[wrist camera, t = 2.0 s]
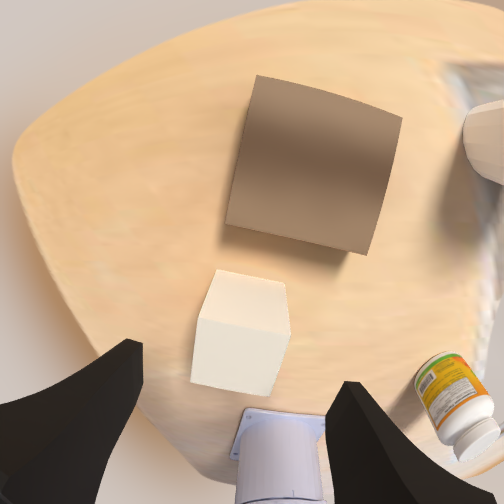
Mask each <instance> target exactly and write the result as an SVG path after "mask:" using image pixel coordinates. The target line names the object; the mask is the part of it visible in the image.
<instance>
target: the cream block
mask: <svg viewBox="0 0 504 504" xmlns="http://www.w3.org/2000/svg"><path fill="white" fill-rule="evenodd" d="M290 337H291V331H290V322H289V314H288V306H287V298H286V291H285V283H282V282H277V281H272V280H267V279H262V278H257V277H252V276H247V275H243V274H238V273H233V272H228V271H223V270H218V269H217V270H216V272H215V275H214V278H213V280H212V283H211V285H210V288H209V290H208V293H207V295H206V298H205V301H204V303H203V306H202V308H201V311H200V313H199V316H198V322H197V329H196V337H195V345H194V353H193V362H192V370H191V379H190V382H192V383H196V384H201V385H206V386H210V387H215V388H220V389H225V390H230V391H236V392H241V393H247V394H253V395H260V396H267V397H270V394H271V391H272V388H273V386H274V383H275V380H276V377H277V375H278V372H279V369H280V366H281V363H282V360H283V358H284V355H285V352H286V349H287V346H288V343H289V340H290Z"/></svg>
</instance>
